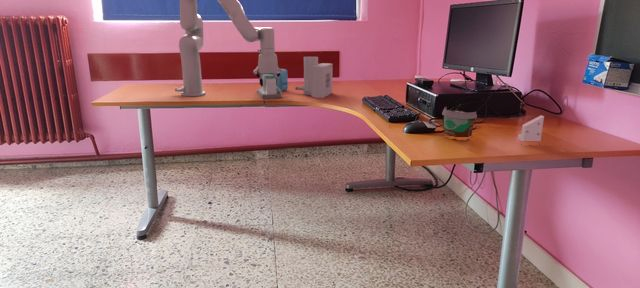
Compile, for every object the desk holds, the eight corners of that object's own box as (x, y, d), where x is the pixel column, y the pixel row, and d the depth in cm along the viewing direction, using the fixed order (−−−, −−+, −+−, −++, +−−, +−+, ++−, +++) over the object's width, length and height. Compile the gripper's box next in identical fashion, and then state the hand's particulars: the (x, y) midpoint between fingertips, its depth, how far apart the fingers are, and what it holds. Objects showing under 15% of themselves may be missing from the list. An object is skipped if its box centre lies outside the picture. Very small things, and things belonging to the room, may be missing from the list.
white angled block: (553, 138, 143) (544, 116, 141) (525, 153, 144) (515, 131, 142) (547, 135, 147) (538, 113, 145) (520, 150, 148) (510, 128, 146)
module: (265, 92, 230) (264, 76, 227) (262, 90, 237) (262, 74, 235) (274, 92, 231) (274, 76, 229) (271, 90, 238) (271, 74, 236)
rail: (262, 98, 224) (261, 78, 221) (256, 92, 242) (256, 73, 239) (281, 97, 227) (281, 77, 224) (274, 91, 245) (274, 72, 242)
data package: (287, 90, 249) (287, 69, 246) (282, 91, 246) (281, 70, 243) (273, 88, 257) (273, 67, 254) (268, 89, 254) (267, 68, 250)
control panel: (323, 98, 227) (323, 59, 221) (290, 95, 232) (289, 57, 227) (332, 93, 241) (333, 56, 236) (301, 91, 247) (301, 55, 242)
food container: (433, 136, 154) (435, 109, 152) (442, 133, 159) (444, 106, 156) (465, 143, 146) (468, 114, 143) (474, 140, 150) (477, 111, 147)
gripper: (251, 52, 222) (253, 87, 227) (285, 52, 227) (285, 86, 232) (250, 51, 229) (251, 85, 234) (282, 51, 234) (283, 84, 239)
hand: (268, 85), depth 233 cm, fingers open, 6 cm apart
